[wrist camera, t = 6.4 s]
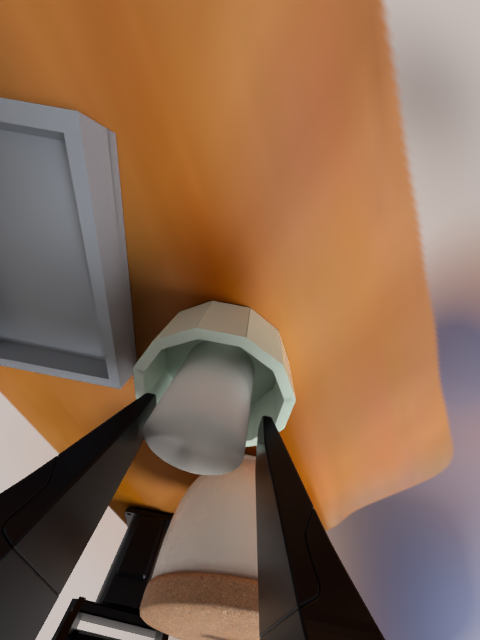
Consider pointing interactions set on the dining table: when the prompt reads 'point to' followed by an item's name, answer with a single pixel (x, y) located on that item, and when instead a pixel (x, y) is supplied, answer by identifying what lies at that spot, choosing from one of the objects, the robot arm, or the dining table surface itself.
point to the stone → (204, 411)
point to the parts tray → (62, 247)
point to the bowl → (233, 329)
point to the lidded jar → (209, 562)
